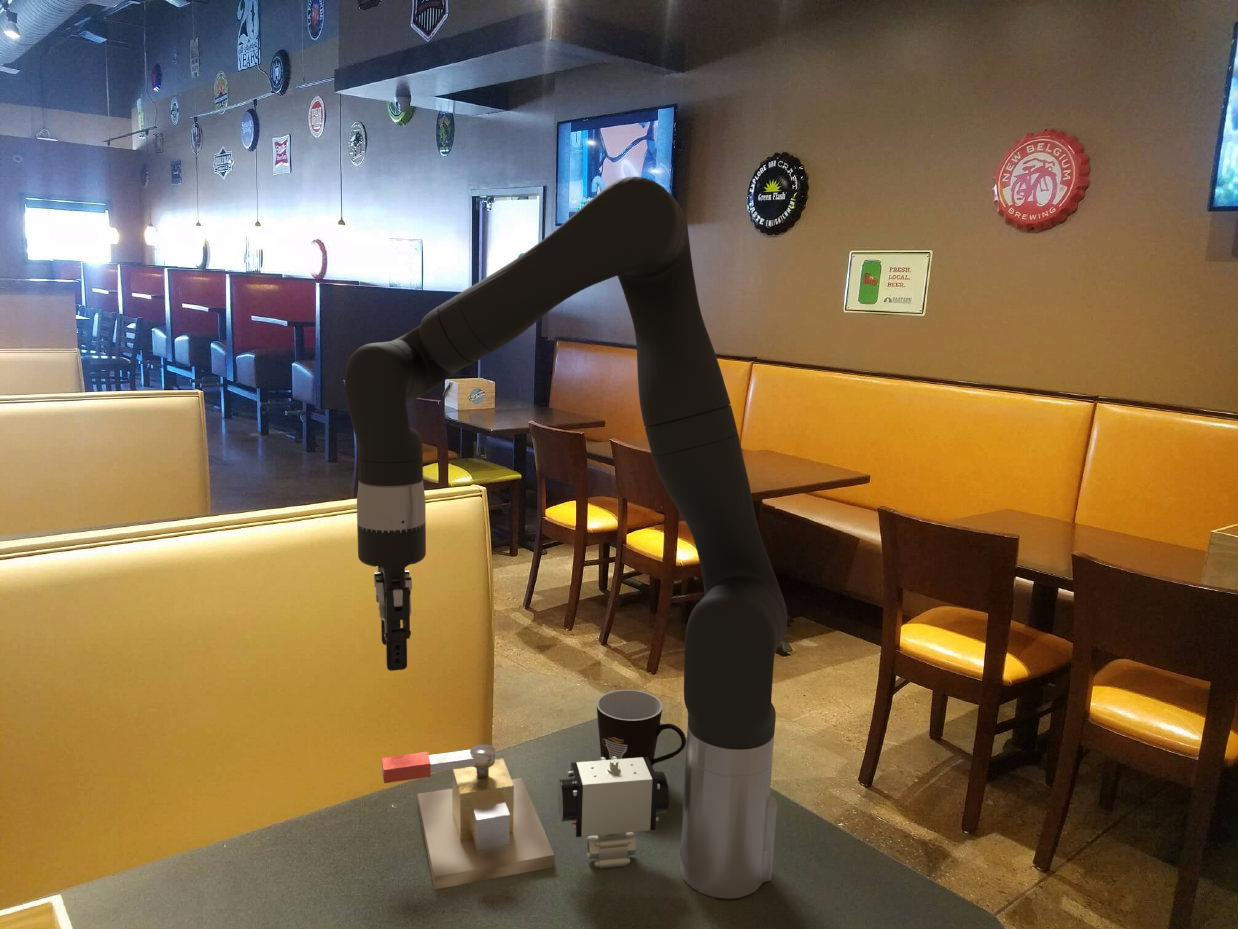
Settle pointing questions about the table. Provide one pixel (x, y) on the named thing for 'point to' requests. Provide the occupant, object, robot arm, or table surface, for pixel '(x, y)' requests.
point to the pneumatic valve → (612, 805)
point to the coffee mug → (632, 725)
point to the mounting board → (461, 859)
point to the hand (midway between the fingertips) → (393, 655)
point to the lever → (435, 763)
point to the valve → (484, 807)
